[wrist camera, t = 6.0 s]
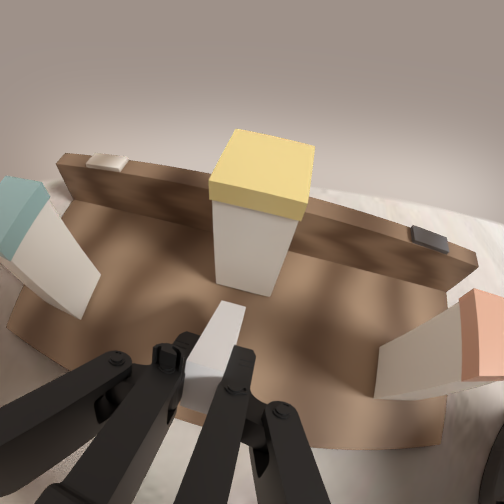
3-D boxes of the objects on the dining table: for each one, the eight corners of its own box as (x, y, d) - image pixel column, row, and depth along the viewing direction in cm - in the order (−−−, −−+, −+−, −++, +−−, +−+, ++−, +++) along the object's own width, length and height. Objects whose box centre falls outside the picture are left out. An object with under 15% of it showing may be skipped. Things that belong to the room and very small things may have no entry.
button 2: (102, 274, 19) (41, 181, 11) (81, 321, 17) (-3, 248, 8) (66, 260, 19) (5, 175, 11) (45, 303, 17) (-33, 231, 9)
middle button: (281, 250, 22) (314, 146, 13) (271, 298, 20) (308, 203, 11) (230, 238, 22) (235, 128, 13) (214, 284, 20) (208, 180, 11)
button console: (439, 283, 23) (478, 250, 18) (433, 444, 15) (486, 442, 9) (84, 195, 25) (63, 149, 19) (12, 330, 17) (-33, 302, 11)
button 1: (420, 351, 18) (514, 301, 9) (416, 401, 16) (520, 374, 7) (378, 345, 18) (473, 288, 10) (372, 399, 16) (479, 376, 7)
